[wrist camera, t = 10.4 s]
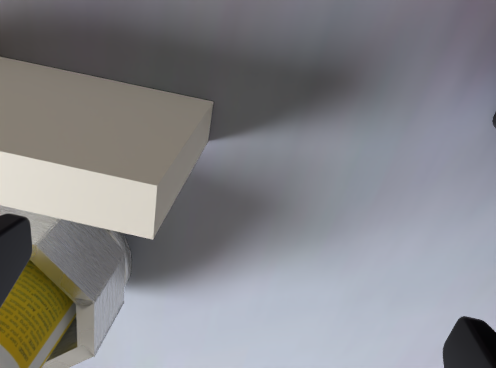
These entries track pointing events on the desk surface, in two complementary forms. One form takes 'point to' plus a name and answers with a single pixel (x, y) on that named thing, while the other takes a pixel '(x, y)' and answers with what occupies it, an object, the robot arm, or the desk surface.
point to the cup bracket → (80, 279)
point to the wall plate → (95, 147)
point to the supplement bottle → (33, 320)
